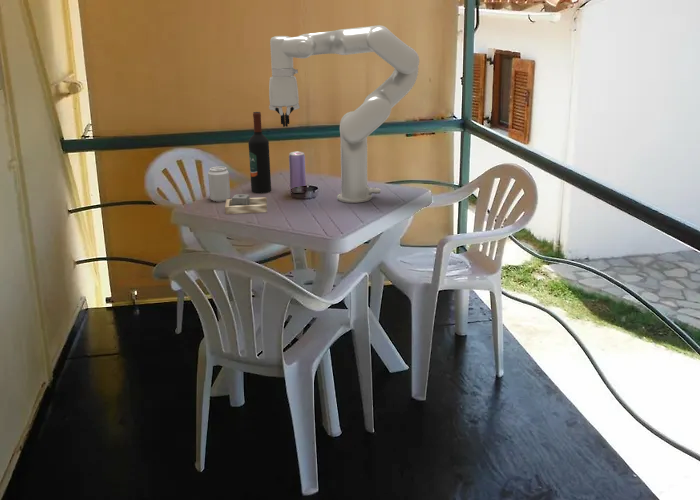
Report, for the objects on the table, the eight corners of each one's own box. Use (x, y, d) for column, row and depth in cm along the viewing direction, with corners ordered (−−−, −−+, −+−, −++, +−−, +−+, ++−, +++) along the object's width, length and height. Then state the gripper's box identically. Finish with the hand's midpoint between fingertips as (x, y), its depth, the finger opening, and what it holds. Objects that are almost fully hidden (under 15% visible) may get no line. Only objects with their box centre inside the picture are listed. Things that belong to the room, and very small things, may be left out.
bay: (266, 204, 262) (266, 197, 261) (267, 212, 252) (266, 205, 251) (227, 205, 260) (226, 199, 259) (225, 214, 251) (225, 207, 250)
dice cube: (250, 208, 257) (249, 194, 256) (246, 212, 253) (245, 198, 251) (236, 207, 258) (235, 194, 256) (232, 212, 253) (231, 198, 252)
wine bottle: (268, 193, 275) (264, 114, 265) (249, 193, 276) (244, 113, 266) (273, 188, 282) (269, 110, 272) (254, 188, 283) (249, 110, 273)
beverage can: (303, 194, 274) (302, 155, 268) (288, 193, 275) (286, 154, 270) (307, 190, 279) (306, 151, 274) (292, 189, 280) (291, 151, 275)
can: (216, 203, 263) (214, 171, 259) (206, 199, 269) (203, 167, 265) (234, 199, 268) (232, 167, 264) (224, 195, 273) (221, 164, 269)
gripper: (303, 71, 256) (305, 123, 262) (261, 72, 254) (264, 125, 261) (304, 73, 249) (307, 127, 255) (261, 75, 247) (264, 128, 254)
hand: (285, 126), depth 258 cm, fingers closed
